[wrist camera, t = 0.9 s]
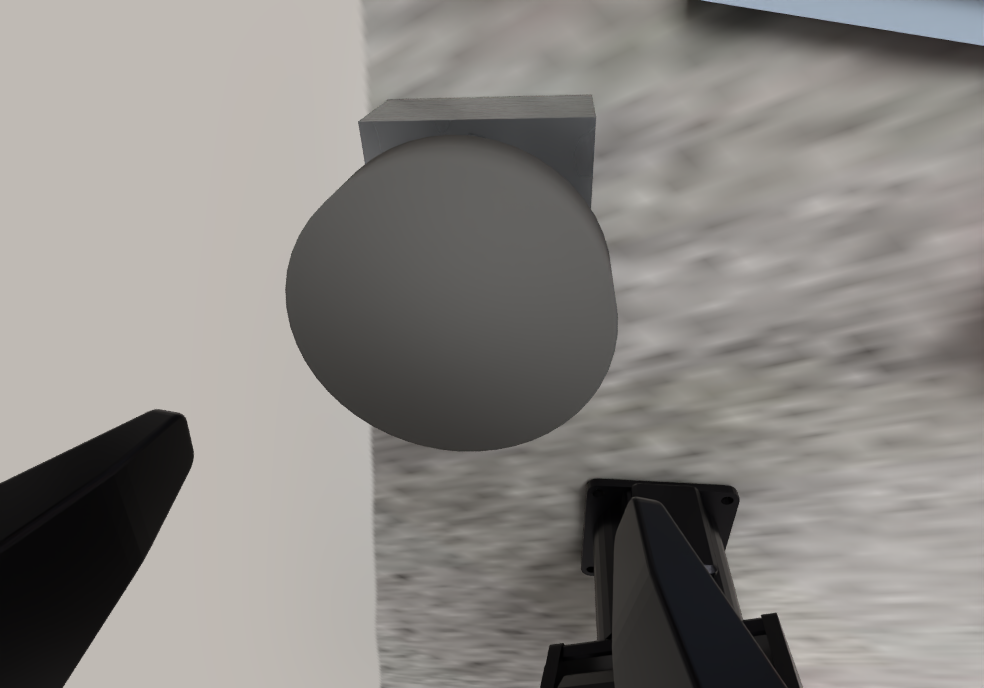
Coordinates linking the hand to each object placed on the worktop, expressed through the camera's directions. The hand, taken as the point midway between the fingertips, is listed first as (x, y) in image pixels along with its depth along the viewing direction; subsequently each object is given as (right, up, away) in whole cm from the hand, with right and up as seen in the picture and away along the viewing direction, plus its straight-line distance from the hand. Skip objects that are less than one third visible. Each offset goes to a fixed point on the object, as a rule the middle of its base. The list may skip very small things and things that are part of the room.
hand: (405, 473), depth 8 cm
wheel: (+1, +5, +8) cm, 9 cm away
